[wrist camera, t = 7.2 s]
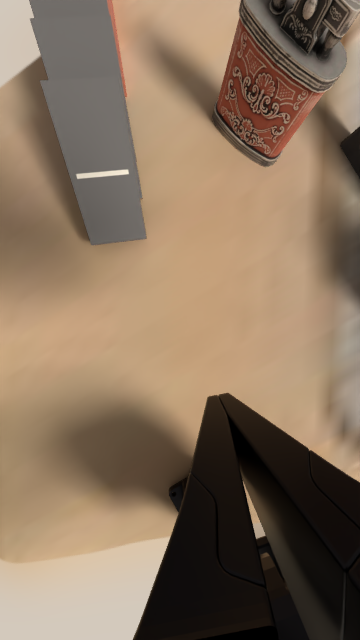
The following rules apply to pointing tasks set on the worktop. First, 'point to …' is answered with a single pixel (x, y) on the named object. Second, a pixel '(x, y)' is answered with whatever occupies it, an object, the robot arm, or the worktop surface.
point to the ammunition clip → (353, 149)
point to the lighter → (280, 70)
